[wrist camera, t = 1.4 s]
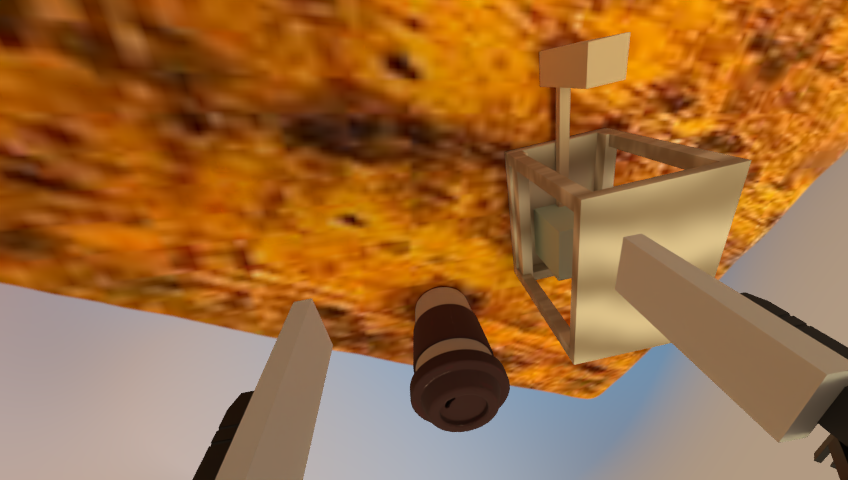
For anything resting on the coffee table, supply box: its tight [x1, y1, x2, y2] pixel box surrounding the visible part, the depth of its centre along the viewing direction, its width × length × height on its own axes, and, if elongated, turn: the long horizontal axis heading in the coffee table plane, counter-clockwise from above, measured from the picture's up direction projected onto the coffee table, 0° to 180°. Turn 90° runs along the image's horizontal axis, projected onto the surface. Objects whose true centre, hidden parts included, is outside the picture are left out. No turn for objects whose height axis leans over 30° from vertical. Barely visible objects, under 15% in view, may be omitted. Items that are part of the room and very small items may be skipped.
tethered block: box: [534, 32, 630, 281], centre depth 30 cm, size 22×6×8 cm, turn 12°
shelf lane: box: [505, 128, 751, 365], centre depth 30 cm, size 16×11×15 cm
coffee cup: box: [410, 287, 510, 432], centre depth 35 cm, size 10×10×15 cm
